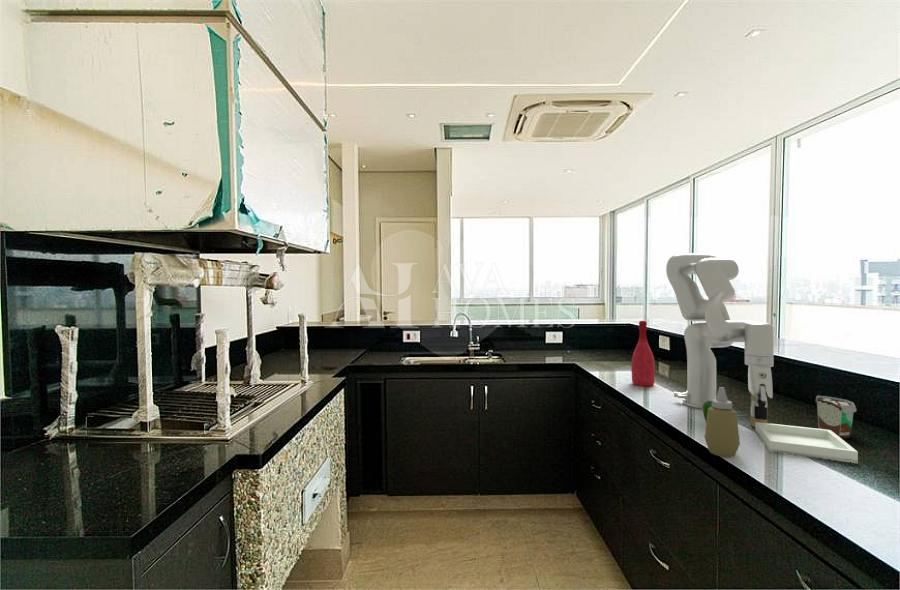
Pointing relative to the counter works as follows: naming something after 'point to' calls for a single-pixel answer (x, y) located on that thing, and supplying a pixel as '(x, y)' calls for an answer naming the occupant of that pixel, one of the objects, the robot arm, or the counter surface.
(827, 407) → the food container
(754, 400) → the sprinkles bottle
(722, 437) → the squeeze bottle
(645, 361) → the wine bottle
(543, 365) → the counter surface
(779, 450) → the tray
